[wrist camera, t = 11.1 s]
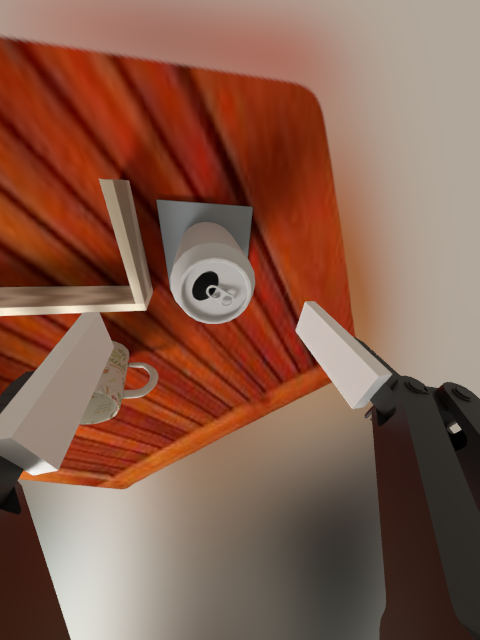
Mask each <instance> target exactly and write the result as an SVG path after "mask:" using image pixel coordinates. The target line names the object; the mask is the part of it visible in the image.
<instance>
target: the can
mask: <svg viewBox="0 0 480 640" xmlns="http://www.w3.org/2000/svg"><path fill="white" fill-rule="evenodd" d="M170 281H171V291H172V294H173V296H174V298H175V301H176V302H177V303H178V304H179V305H180V307H181V308H182V309H183V310H184V311H185V312H186V313H187V314H188V315H189V316H190V317H192V318H194V319H195V320H197V321H200V322H204V323H207V324H220V323H224V322H228V321H230V320H232V319H234V318H236V317H238V316H239V315H240V314H241V313H242V312H243V311H244V310H245V309H246V307H247V306H248V304H249V302H250V300H251V297H252V295H253V291H254V286H255V277H254V271H253V269H252V266H251V264H250V262H249V260H248V259H247V257H246V256H245V254H244V253H243V251H242V250H241V248H240V247H239V245H238V244H237V242H236V241H235V239H234V238H233V236H232V235H231V234H230V233H229V232H228V231H227V230H226V229H225V228H224V227H222V226H220V225H218V224H216V223H211V222H201V223H196V224H194V225H193V226H191V227H190V228H188V229H187V230H186V231H185V233H184V234H183V235H182V236H181V239H180V242H179V246H178V249H177V253H176V257H175V261H174V265H173V269H172V272H171V276H170Z"/></svg>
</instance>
